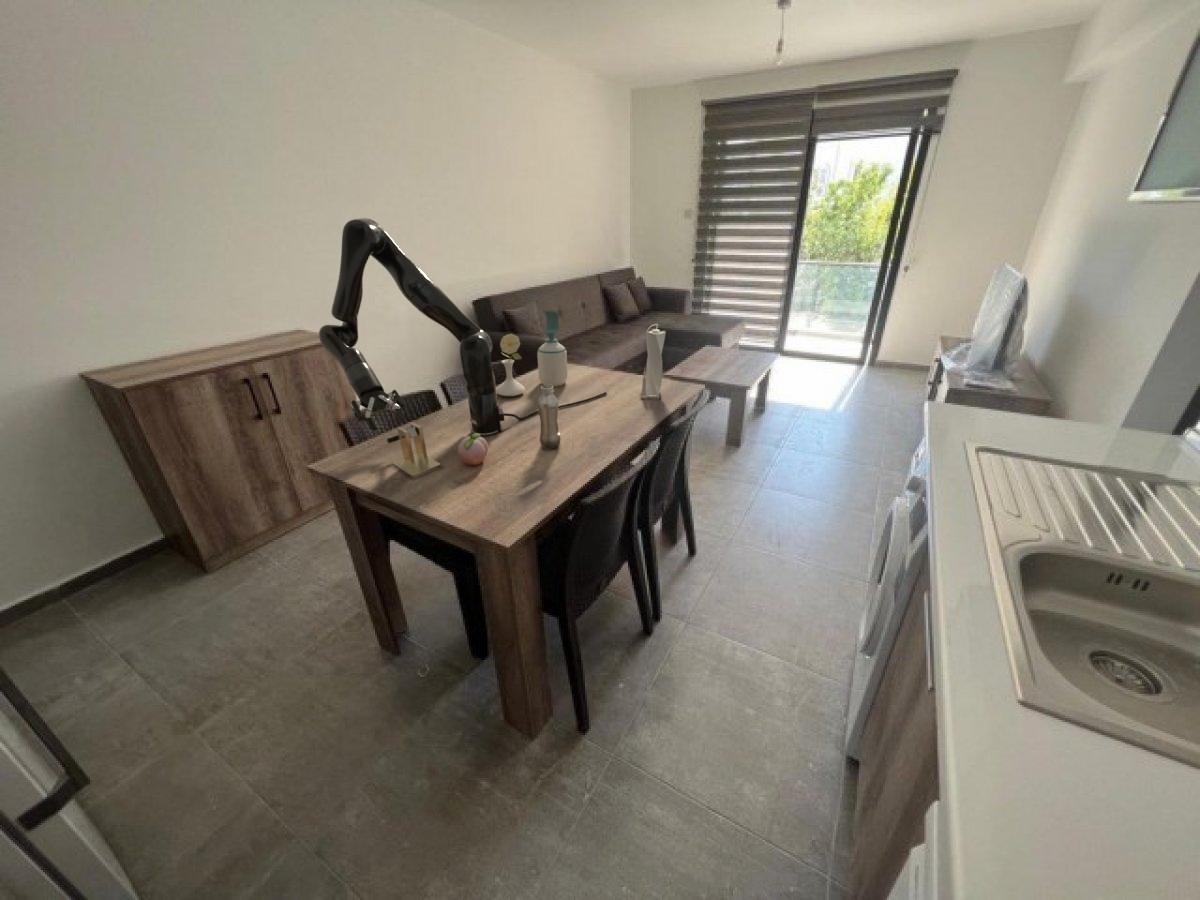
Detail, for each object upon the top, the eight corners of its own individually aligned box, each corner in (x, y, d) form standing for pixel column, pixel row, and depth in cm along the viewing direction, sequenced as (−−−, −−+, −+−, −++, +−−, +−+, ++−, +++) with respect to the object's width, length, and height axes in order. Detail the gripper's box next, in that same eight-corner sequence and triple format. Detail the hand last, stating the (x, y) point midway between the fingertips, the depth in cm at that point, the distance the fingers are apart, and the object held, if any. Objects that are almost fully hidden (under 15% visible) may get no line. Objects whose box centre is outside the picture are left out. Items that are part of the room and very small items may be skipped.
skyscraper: (642, 392, 196) (645, 323, 184) (662, 392, 195) (666, 323, 183) (641, 399, 189) (643, 327, 176) (661, 400, 188) (666, 328, 175)
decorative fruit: (465, 457, 145) (460, 427, 141) (492, 457, 145) (488, 427, 140) (456, 472, 137) (451, 441, 132) (484, 473, 136) (480, 441, 132)
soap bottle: (535, 387, 202) (530, 312, 188) (543, 378, 213) (539, 306, 199) (564, 388, 200) (561, 312, 186) (570, 379, 211) (568, 307, 197)
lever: (388, 445, 141) (385, 437, 140) (407, 438, 145) (404, 431, 144) (404, 440, 132) (400, 431, 132) (424, 433, 136) (420, 425, 136)
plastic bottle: (564, 443, 153) (561, 384, 144) (555, 452, 148) (552, 391, 139) (545, 440, 155) (542, 381, 146) (536, 449, 150) (532, 389, 141)
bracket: (393, 466, 140) (384, 427, 134) (421, 456, 146) (414, 417, 140) (412, 479, 133) (404, 438, 128) (441, 467, 139) (434, 427, 134)
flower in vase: (490, 395, 194) (484, 333, 183) (510, 387, 202) (505, 328, 191) (514, 401, 187) (508, 338, 176) (533, 393, 196) (529, 332, 184)
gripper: (341, 380, 137) (368, 427, 136) (389, 369, 147) (414, 413, 145) (338, 393, 143) (364, 438, 141) (384, 381, 152) (409, 424, 151)
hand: (389, 425), depth 143 cm, fingers open, 8 cm apart
